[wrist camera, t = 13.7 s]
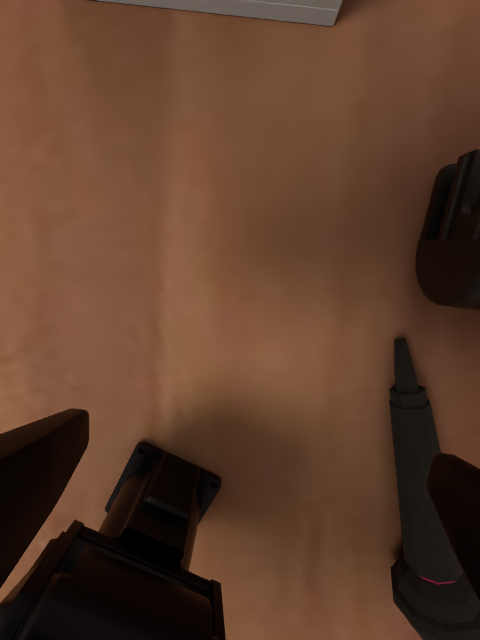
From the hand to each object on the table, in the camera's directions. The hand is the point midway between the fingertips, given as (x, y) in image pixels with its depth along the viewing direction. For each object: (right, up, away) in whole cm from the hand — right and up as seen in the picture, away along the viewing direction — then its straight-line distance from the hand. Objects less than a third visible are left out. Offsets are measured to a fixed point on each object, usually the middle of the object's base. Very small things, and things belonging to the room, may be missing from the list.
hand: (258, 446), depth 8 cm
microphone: (+12, -7, +14) cm, 20 cm away
